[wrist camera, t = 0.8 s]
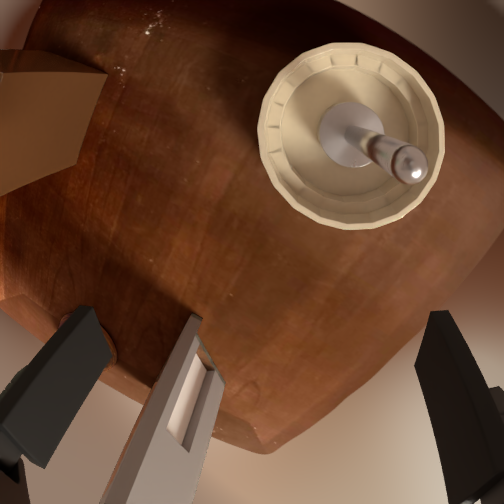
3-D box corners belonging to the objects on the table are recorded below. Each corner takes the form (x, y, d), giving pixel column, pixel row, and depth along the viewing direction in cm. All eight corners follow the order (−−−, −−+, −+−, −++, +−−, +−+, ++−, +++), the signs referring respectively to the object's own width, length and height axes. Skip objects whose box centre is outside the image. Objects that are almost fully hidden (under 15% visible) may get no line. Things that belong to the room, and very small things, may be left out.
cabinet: (192, 312, 41) (101, 509, 16) (256, 345, 42) (212, 549, 17) (151, 389, 50) (90, 524, 25) (200, 412, 51) (156, 551, 26)
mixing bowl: (315, 25, 25) (319, 8, 19) (446, 117, 26) (473, 121, 21) (236, 157, 32) (223, 168, 26) (366, 235, 33) (377, 260, 28)
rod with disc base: (337, 90, 27) (394, 66, 10) (387, 125, 27) (494, 156, 10) (305, 141, 29) (317, 187, 12) (356, 173, 30) (423, 259, 13)
